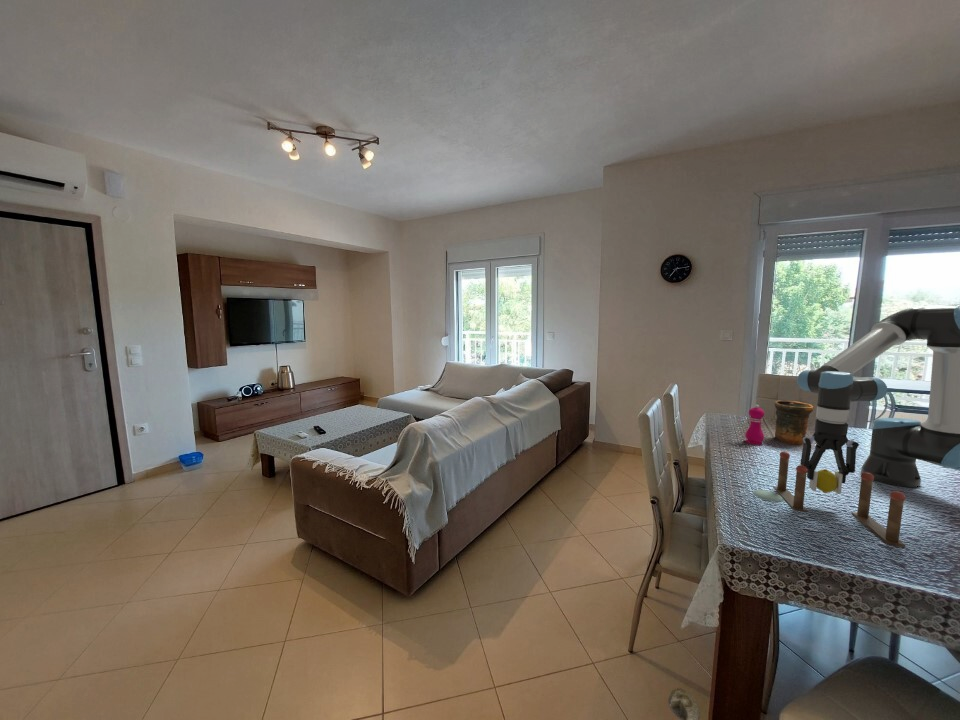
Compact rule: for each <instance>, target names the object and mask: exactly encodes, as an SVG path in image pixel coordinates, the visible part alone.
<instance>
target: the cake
mask: <svg viewBox="0 0 960 720" xmlns="http://www.w3.org/2000/svg"><path fill="white" fill-rule="evenodd" d="M667 703H668V706H669V709H670V711H671V712H672V713H673V715H674V716H675V717H676V718H677V719H679V720H700V718H701V717H700V716H701V715H700V714H701V712H700V710H699V705H698V703H697V700H696V699H695V697H694V696H693V695H692V693H690V692H688V691H687V690H685V689H683V688H678V687H677V688H674V689H673V690H672V691H671V692H670V695H669V697H668V702H667Z"/></svg>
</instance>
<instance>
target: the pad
mask: <svg viewBox="0 0 960 720" xmlns="http://www.w3.org/2000/svg"><path fill="white" fill-rule="evenodd" d="M753 494H754V495H755V496H756V497H758V498H760V499H762V500H766V501H769V502H779V503H780V502H783V500H784V499H783V497H782V496H781V495H780V494H779V493H775V492H773V491H769V490H763V489H756V490H753Z"/></svg>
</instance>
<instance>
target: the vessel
mask: <svg viewBox="0 0 960 720" xmlns="http://www.w3.org/2000/svg"><path fill="white" fill-rule="evenodd" d="M774 406H775V408H776V409H775V410H776V411H775V415H776V419H775V431H774V439H775V440H776V441H777V442H781V443H785V444H787V445H788V444H790V445H800V446H801V445H803V440H802V437H803V436H805V437H807V436H806V435H807V431H808V427H809V425H808V423H809V418H810V414H811V413H812V412H813V411H814V406H813V405H812V404H809V403H805V402H801V401H794V400H776V401H775V402H774Z"/></svg>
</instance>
